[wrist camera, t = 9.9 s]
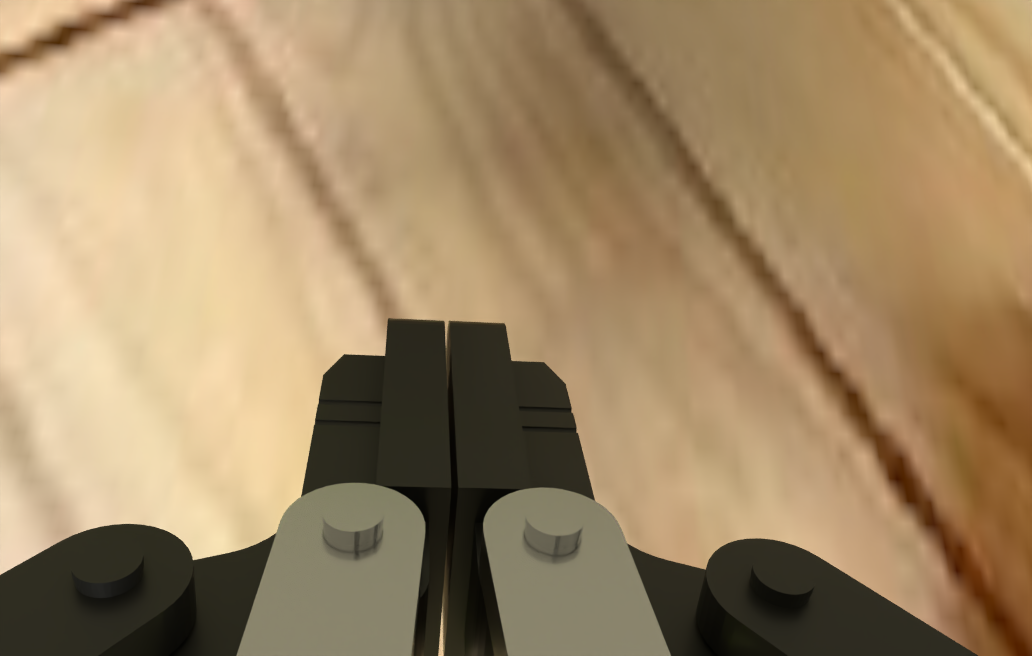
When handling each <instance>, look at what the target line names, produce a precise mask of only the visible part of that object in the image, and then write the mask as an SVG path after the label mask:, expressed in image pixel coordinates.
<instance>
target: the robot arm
mask: <svg viewBox="0 0 1032 656" xmlns="http://www.w3.org/2000/svg"><path fill="white" fill-rule="evenodd" d="M571 409H572V408H571V404H570V400H569V396H568V392H567V388H566V384H565V383H564V382H563V381H562V380H561V379H560V378H559V377H558V376H557V375H556V374H555V373H554V372H553V371H552V370H551V369H550V368H549V367H548V366H547V365H546V364H545V363H544V362H521V361H511V356H510V349H509V343H508V337H507V331H506V326H505V324H504V323H483V322H462V321H449V323H448V330H447V342H446V345H445V323H444V321H436V320H414V319H392V318H388V326H387V339H386V353H385V356H371V355H346V354H344V355H343V356H342V357H341V358H340V359H339V360H338V361H337V362H336V363H335V364H334V365H333V366H332V367H331V368H330V369H329V370H328V371H327V372H326V373H325V374H324V375H323V380H322V385H321V391H320V396H319V404H318V407H317V413H316V418H315V425H314V429H313V435H312V440H311V446H310V451H309V457H308V462H307V468H306V473H305V479H304V484H303V490H302V495H301V498H299V499H297V500H296V501H295V502H294V503H293V504H292V505H291V506H289V508H288V509H287V510H286V512H285V513H284V515H283V517H282V519H281V521H280V524H279V527H278V530H277V533H276V534H274V535H273V536H271V537H270V538H268V539H266V540H264V541H262V542H260V543H258V544H256V545H253V546H251V547H248V548H245V549H242V550H238V551H235V552H231V553H226V554H222V555H217V556H212V557H207V558H202V559H198V560H193V559H192V555H191V553H190V551H189V549H188V547H187V546H186V545H185V544H184V542H183V541H181V540H180V539H179V538H178V537H176V536H175V535H173V534H171V533H169V532H167V531H165V530H162V529H159V528H156V527H152V526H146V525H138V524H119V525H109V526H103V527H98V528H94V529H90V530H86V531H84V532H81V533H78V534H75V535H73V536H71V537H69V538H67V539H64V540H62V541H60V542H59V543H57V544H55V545H53V546H51V547H50V548H48V549H46V550H44V551H42V552H41V553H39V554H37V555H35V556H34V557H32V558H30V559H28V560H26V561H25V562H23V563H21V564H19V565H17V566H16V567H14V568H12V569H10V570H8V571H7V572H5V573H3V574H1V575H0V656H438V651H439V638H440V625H441V613H442V610H443V652H444V656H978V655H976V654H975V653H973V652H971V651H970V650H968V649H966V648H965V647H963V646H962V645H960V644H958V643H957V642H955V641H954V640H952V639H950V638H949V637H947V636H945V635H944V634H942V633H941V632H939V631H937V630H936V629H934V628H933V627H931V626H929V625H928V624H926V623H924V622H923V621H921V620H920V619H918V618H916V617H915V616H913V615H912V614H910V613H908V612H907V611H905V610H903V609H902V608H900V607H899V606H897V605H895V604H894V603H892V602H891V601H889V600H887V599H886V598H884V597H882V596H881V595H879V594H878V593H876V592H874V591H873V590H871V589H870V588H868V587H866V586H865V585H863V584H861V583H860V582H858V581H857V580H855V579H853V578H852V577H850V576H849V575H847V574H845V573H844V572H842V571H840V570H839V569H837V568H836V567H834V566H832V565H831V564H829V563H828V562H826V561H824V560H823V559H821V558H819V557H818V556H816V555H814V554H812V553H810V552H809V551H806V550H804V549H802V548H799V547H797V546H794V545H791V544H788V543H785V542H780V541H776V540H770V539H743V540H737V541H734V542H731V543H728V544H726V545H724V546H722V547H720V548H719V549H718V550H717V551H715V552H714V553H713V555H712V556H711V558H710V559H709V562H708V564H707V567H706V570H704V569H700V568H696V567H692V566H688V565H684V564H680V563H676V562H672V561H668V560H665V559H661V558H658V557H655V556H652V555H649V554H647V553H645V552H642V551H640V550H638V549H636V548H634V547H632V546H631V545H629V544H627V542H626V540H625V537H624V535H623V532H622V529H621V527H620V525H619V524H618V522H617V520H616V519H615V518H614V516H613V515H612V514H611V513H610V512H609V511H608V510H607V509H606V508H604V507H603V506H602V505H600V504H599V503H597V502H596V501H595V499H594V495H593V491H592V487H591V483H590V479H589V475H588V471H587V467H586V463H585V459H584V455H583V451H582V447H581V444H580V440H579V436H578V433H576V429H577V428H576V424H575V420H574V416H573V413H571Z"/></svg>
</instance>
